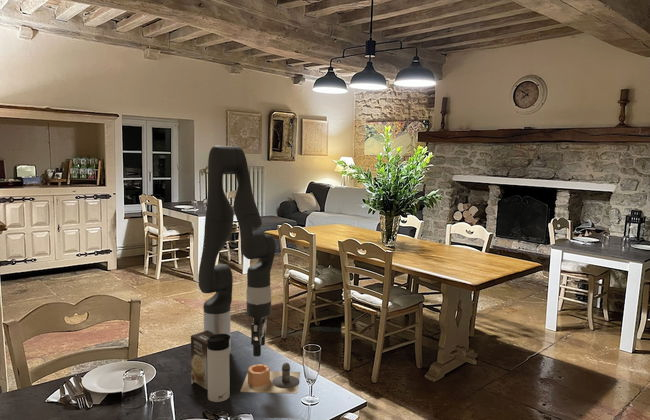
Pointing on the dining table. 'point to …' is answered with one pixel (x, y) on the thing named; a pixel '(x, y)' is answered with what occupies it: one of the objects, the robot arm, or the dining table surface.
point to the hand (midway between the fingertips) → (259, 350)
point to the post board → (276, 382)
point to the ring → (258, 375)
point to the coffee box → (199, 358)
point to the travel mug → (218, 367)
